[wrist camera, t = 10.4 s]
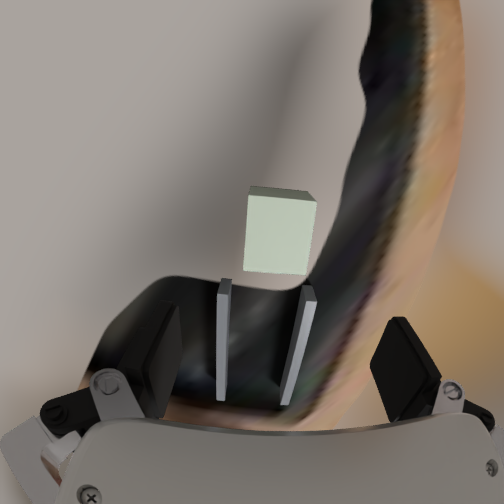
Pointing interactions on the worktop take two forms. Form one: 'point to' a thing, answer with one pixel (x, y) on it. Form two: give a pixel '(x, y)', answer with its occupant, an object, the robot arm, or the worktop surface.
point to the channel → (295, 349)
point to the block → (278, 230)
